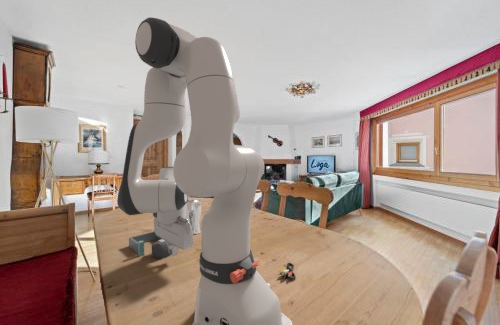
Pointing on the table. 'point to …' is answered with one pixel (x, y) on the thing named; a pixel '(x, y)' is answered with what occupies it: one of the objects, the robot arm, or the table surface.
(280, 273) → the composite cable
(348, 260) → the table surface
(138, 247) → the cable holder
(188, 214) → the beer glass
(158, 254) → the dark grey rounded dome
